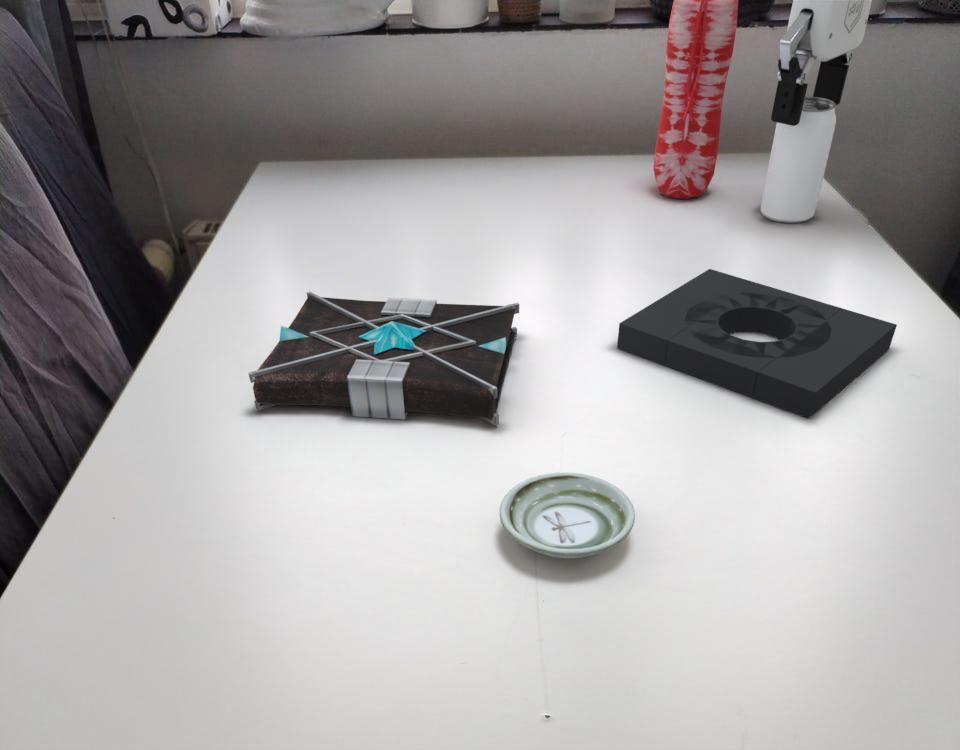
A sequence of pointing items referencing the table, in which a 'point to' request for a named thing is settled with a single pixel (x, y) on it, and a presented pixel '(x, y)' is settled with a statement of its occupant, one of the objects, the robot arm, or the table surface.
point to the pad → (750, 364)
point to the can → (799, 163)
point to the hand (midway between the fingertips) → (805, 112)
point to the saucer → (567, 515)
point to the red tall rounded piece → (693, 94)
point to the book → (390, 358)
